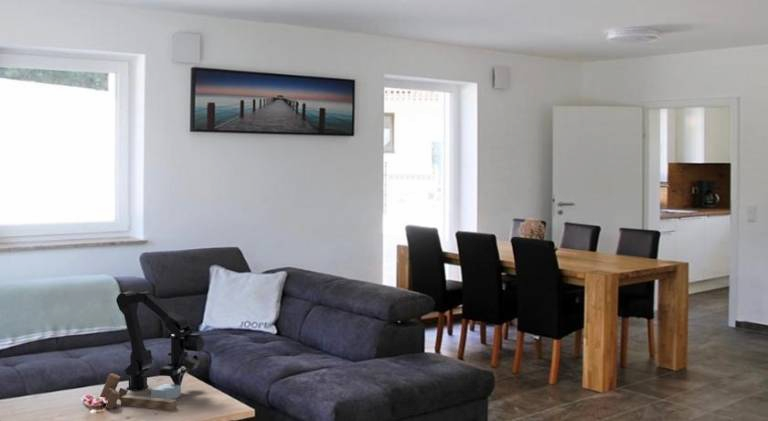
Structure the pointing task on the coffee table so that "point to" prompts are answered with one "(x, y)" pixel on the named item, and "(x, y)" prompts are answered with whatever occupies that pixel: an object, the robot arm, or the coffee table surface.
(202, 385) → the coffee table surface
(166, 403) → the brown wooden bar
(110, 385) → the wooden block set
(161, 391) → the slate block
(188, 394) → the coffee table surface
